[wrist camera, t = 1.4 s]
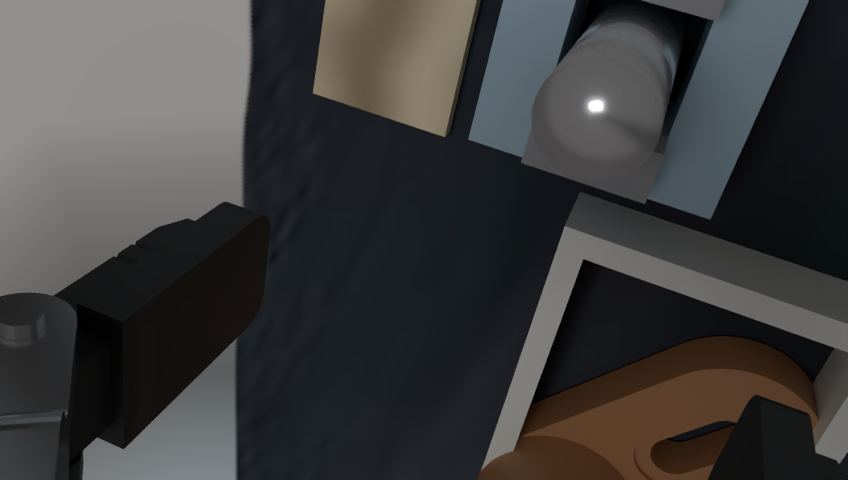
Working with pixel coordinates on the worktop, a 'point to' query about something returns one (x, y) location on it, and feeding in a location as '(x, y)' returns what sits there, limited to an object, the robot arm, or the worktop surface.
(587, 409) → the bracket
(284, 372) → the worktop surface
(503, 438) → the frame
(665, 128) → the vise block
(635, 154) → the steel pin
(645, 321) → the worktop surface
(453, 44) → the rest board
